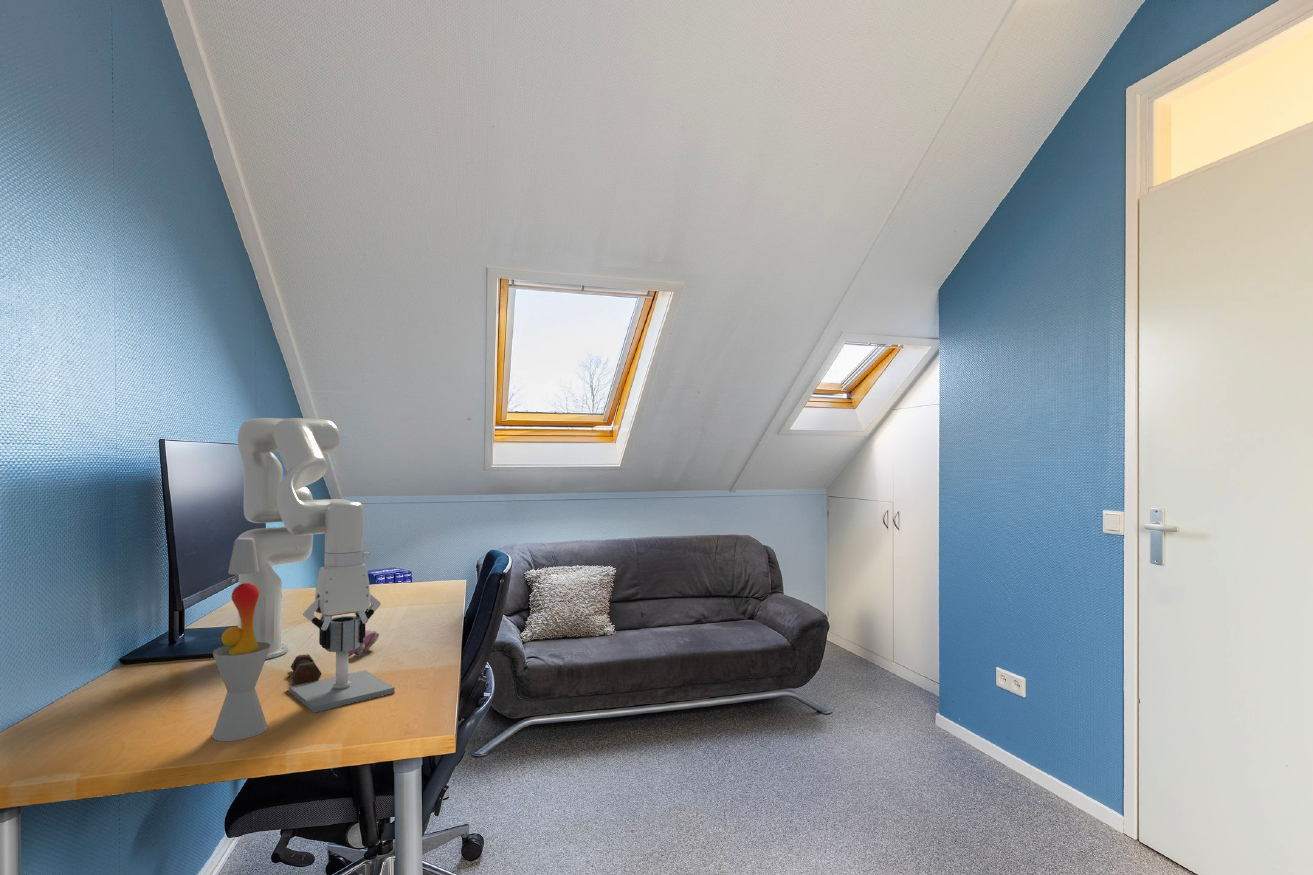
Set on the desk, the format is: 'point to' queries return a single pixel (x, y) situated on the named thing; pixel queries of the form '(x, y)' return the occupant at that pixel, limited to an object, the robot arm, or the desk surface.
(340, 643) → the collar
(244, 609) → the lava lamp
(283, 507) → the robot arm
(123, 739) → the desk surface
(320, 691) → the post stand
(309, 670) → the bolt
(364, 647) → the pink animal figurine
